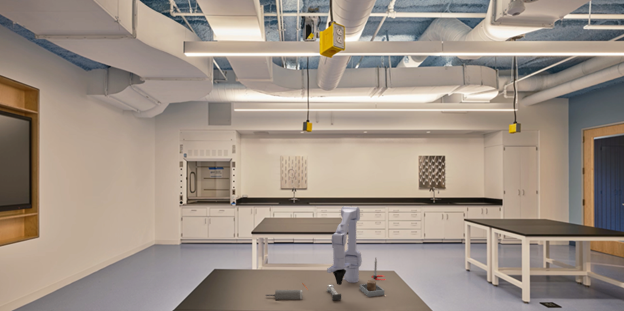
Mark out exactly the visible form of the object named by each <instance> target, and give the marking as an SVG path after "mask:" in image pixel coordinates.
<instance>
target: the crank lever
mask: <svg viewBox="0 0 624 311" xmlns="http://www.w3.org/2000/svg"><path fill="white" fill-rule="evenodd" d="M326 292H328V293H330V294H331V300H332V301H339V300H341V301H342V293H338V291H336V289H335V285H334V284H332V283H329V284H327V285H326Z"/></svg>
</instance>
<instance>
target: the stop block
mask: <svg viewBox="0 0 624 311" xmlns="http://www.w3.org/2000/svg"><path fill="white" fill-rule="evenodd" d="M366 284H367V290H368V291H376V284H377V280H372V279H371V280H367V283H366Z"/></svg>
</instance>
